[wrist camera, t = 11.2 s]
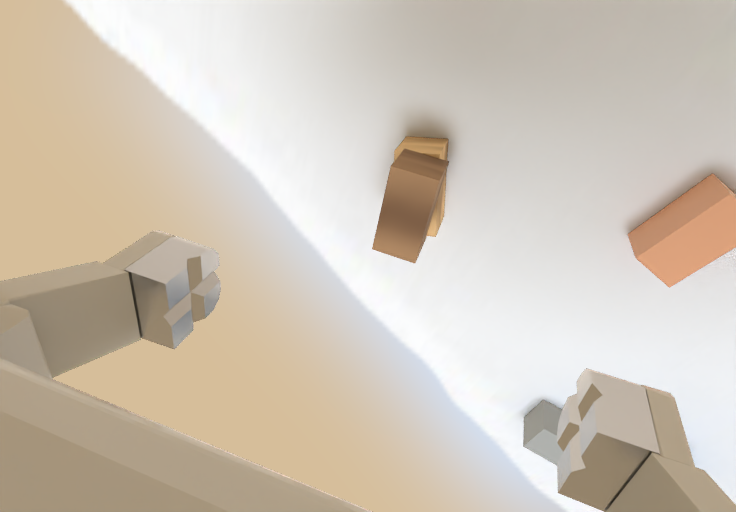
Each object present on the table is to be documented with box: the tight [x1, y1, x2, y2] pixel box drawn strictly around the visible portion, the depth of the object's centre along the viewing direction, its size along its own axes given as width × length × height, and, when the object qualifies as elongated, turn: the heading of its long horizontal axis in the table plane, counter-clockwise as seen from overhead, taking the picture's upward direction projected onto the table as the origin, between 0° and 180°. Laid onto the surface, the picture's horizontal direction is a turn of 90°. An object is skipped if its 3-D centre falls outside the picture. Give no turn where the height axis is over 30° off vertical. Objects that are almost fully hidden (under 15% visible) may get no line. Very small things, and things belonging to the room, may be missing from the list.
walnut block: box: [372, 148, 449, 263], centre depth 36 cm, size 7×4×4 cm, turn 169°
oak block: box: [394, 137, 448, 237], centre depth 39 cm, size 7×4×4 cm, turn 2°
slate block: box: [523, 400, 563, 465], centre depth 48 cm, size 7×4×4 cm, turn 66°
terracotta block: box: [628, 173, 736, 287], centre depth 35 cm, size 7×4×4 cm, turn 144°
